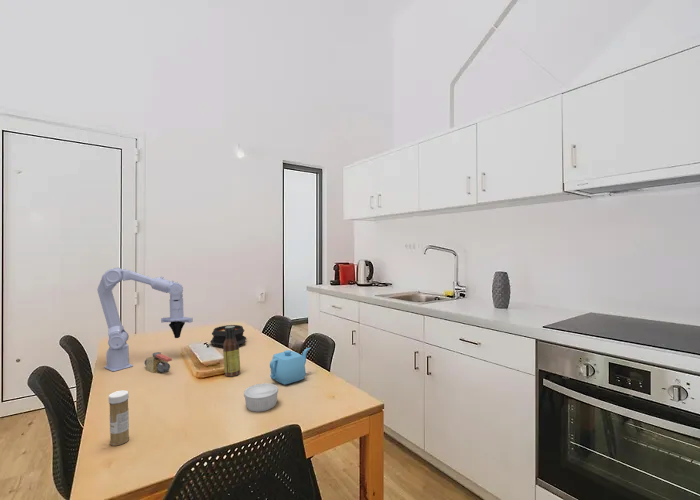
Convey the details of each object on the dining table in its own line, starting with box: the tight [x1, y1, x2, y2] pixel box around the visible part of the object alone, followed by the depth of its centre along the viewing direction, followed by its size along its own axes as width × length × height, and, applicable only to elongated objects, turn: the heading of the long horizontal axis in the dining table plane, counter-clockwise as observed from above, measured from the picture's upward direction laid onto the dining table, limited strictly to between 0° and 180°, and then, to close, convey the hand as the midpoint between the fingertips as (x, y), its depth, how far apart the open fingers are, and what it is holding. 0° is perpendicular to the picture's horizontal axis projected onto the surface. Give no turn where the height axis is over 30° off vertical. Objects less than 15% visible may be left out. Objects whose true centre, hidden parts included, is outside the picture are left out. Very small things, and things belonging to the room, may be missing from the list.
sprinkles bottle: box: [108, 390, 130, 447], centre depth 96 cm, size 5×5×13 cm
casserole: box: [209, 324, 247, 347], centre depth 191 cm, size 25×19×8 cm
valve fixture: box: [144, 356, 171, 374], centre depth 152 cm, size 14×6×6 cm, turn 55°
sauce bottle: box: [222, 325, 241, 377], centre depth 144 cm, size 6×6×20 cm
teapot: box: [269, 347, 311, 385], centre depth 139 cm, size 12×18×12 cm
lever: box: [152, 351, 173, 362], centre depth 148 cm, size 3×14×1 cm, turn 51°
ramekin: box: [243, 382, 279, 413], centre depth 116 cm, size 11×11×5 cm
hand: (177, 337), depth 164 cm, fingers closed
